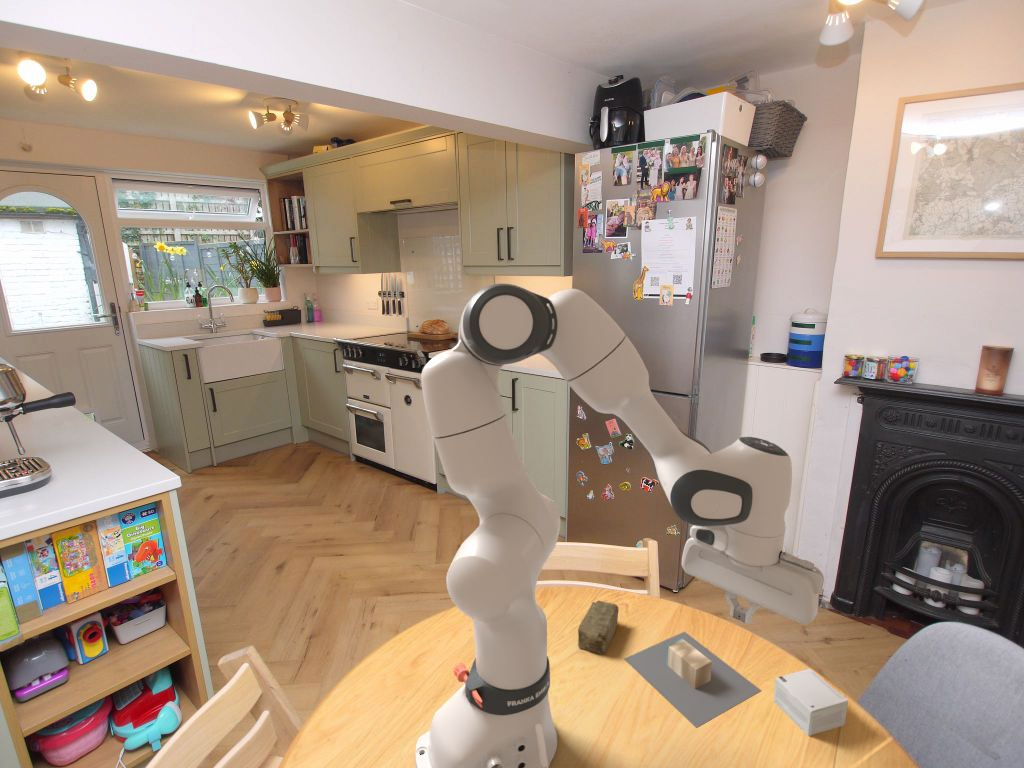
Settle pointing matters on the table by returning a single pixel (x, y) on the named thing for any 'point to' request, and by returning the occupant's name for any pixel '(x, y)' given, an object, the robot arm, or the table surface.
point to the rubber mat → (690, 702)
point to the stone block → (598, 627)
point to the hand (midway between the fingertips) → (740, 618)
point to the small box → (810, 701)
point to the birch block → (688, 663)
